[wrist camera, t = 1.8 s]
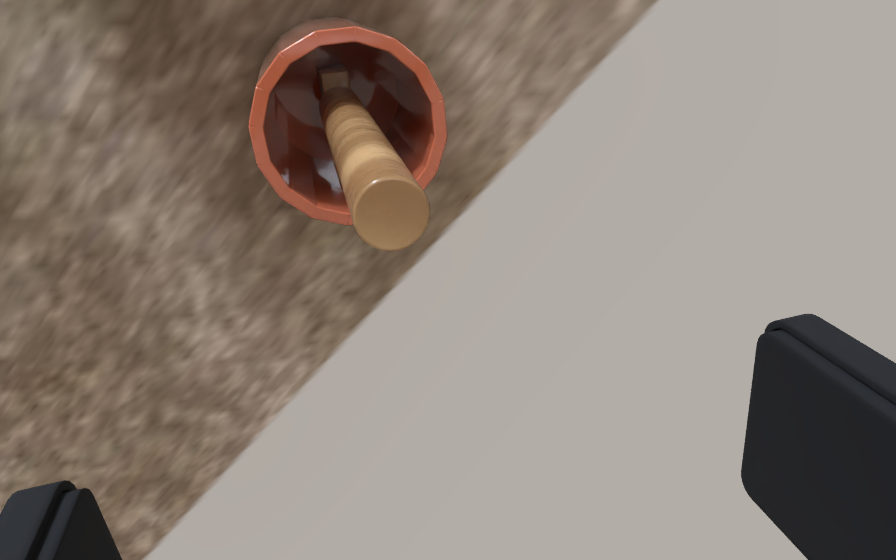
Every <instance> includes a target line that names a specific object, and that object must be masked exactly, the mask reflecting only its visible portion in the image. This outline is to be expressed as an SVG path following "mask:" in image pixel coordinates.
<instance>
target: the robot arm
mask: <svg viewBox="0 0 896 560" xmlns="http://www.w3.org/2000/svg"><path fill="white" fill-rule="evenodd" d="M741 477H742V482H743V485H744V488H745V490H746V491H747V493H748V495H749V496H750V497H751V499H752V500H753V501H754V502H755V503H756V504H757V505H758V506H759V507H760V508H761V509H762V510H763V512H764V513H765V514H766V515H767V516H768V517H769V518H770V519H771V520H772V521H773V522H774V524H775V525H776V526H777V527H778V528H779V529H780V530H781V531H782V532H783V533H784V534H785V535H786V536H787V537H788V539H789V540H791V542H792V543H793V544H794V545H795V546H796V547H797V548H798V549H799V550H800V551H801V553H802V554H803V555H804V556H805V557H806V558H807V559H808V560H896V363H894V362H893V361H891V360H889V359H888V358H886V357H884V356H883V355H881V354H879V353H878V352H876V351H874V350H873V349H871V348H869V347H868V346H866V345H864V344H863V343H861V342H860V341H858V340H856V339H854V338H853V337H851V336H850V335H848V334H846V333H845V332H843V331H841V330H840V329H838V328H836V327H835V326H833V325H831V324H829V323H828V322H826V321H825V320H823V319H821V318H820V317H818V316H816V315H813V314H803V315H799V316H794V317H790V318H785V319H781V320H777V321H773V322H771V323H769V325H768V326H767V327H766V329H765V333H764V334H762V335H761V336H760V337H759V339H758V342H757V347H756V356H755V364H754V372H753V380H752V388H751V397H750V404H749V413H748V420H747V429H746V437H745V445H744V453H743V461H742V469H741ZM0 560H122V558H121V556H120V554H119V552H118V549H117V547H116V545H115V543H114V540H113V538H112V536H111V534H110V531H109V529H108V527H107V525H106V522H105V520H104V518H103V516H102V513H101V511H100V509H99V507H98V504H97V502H96V500H95V498H94V496H93V494H92V492H91V491H90V490H89V489H87V488H83V489H78V490H77V489H76V487H75V485H74V484H72V483H71V482H70V481H65V480H64V481H60V482H56V483H51V484H47V485H42V486H38V487H33V488H29V489H24V490H20V491H17V492H15V493H13V494H12V495H11V497H10V498H9V499H8V501H7V503H6V505H5V506H4V508H3V510H2V512H1V514H0Z"/></svg>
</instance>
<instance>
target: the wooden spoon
mask: <svg viewBox="0 0 896 560" xmlns="http://www.w3.org/2000/svg"><path fill="white" fill-rule="evenodd" d="M317 71H318V77H319V83H320V89H321V94H322V97H321V99H320V102H319V112H320V116H321V119H322V122H323V125H324V129H325V132H326V135H327V139H328V142H329V145H330V149H331V152H332V155H333V159H334V162H335V165H336V168H337V172H338V175H339V178H340V182H341V185H342V188H343V192H344V195H345V198H346V202H347V205H348V208H349V211H350V215H351V218H352V221H353V225H354V227H355V230H356V232H357V234H358V235H359V236H360V238H361V239H362V240H363V241H364V242H365V243H367V244H368V245H370V246H372V247H374V248H376V249H379V250H384V251H395V250H400V249H403V248H406V247H408V246H410V245H412V244H413V243H415V242H416V241H417V240H418V239H419V238H420V237H421V236H422V235H423V233H424V232H425V230H426V228H427V226H428V223H429V219H430V205H429V201H428V198H427V196H426V194H425V193H424V191H423V190H422V188H421V187H420V185H419V184H418V182H417V181H416V180H415V178H414V177H413V175H412V174H411V172H410V171H409V170H408V168H407V167H406V165H405V164H404V162H403V161H402V160H401V158H400V157H399V155H398V154H397V152H396V151H395V149H394V148H393V147H392V145H391V144H390V142H389V141H388V139H387V138H386V137H385V135H384V134H383V132H382V131H381V129H380V128H379V127H378V125H377V124H376V122H375V121H374V119H373V118H372V117H371V115H370V114H369V112H368V111H367V109H366V108H365V107H364V105H363V104H362V102H361V101H360V99H359V98H358V97H357V95H356V94H355V93H354V92H353V91H352V90H351V86H350V80H349V73H348V71H347V69H346V68H345V67H344V66H343V64H342V63H338V64H330V65H322V66H318V67H317Z"/></svg>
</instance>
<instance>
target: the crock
mask: <svg viewBox="0 0 896 560" xmlns="http://www.w3.org/2000/svg"><path fill="white" fill-rule="evenodd" d="M338 63H342V64H343V66H344V67H345V68H346V69H347V71H348V73H349V80H350V86H351V90H352V91H353V92H354V93H355V94H356V95H357V97H358V98H359V99H360V101H361V102H362V104H363V105H364V107H365V108H366V109H367V111H368V112H369V114H370V115H371V117H372V118H373V119H374V121H375V122H376V124H377V125H378V127H379V128H380V129H381V131H382V132H383V134H384V135H385V137H386V138H387V139H388V141H389V142H390V144H391V145H392V147H393V148H394V149H395V151H396V152H397V154H398V155H399V157H400V158H401V160H402V161H403V162H404V164H405V165H406V167H407V168H408V170H409V171H410V172H411V174H412V175H413V177H414V178H415V180H416V181H417V182H418V184H419V185H420V187H421V188H422V190H424V189H425V188H426V186H427V185H428V184H429V183H430V181H431V180H432V179H433V177H434V176H435V175H436V173H437V171H438V168H439V165H440V162H441V158H442V155H443V151H444V148H445V145H446V141H447V125H446V114H445V104H444V100H443V96H442V94H441V92H440V90H439V88H438V86H437V84H436V82H435V81H434V79H433V77H432V75H431V73H430V71H429V69H428V67H427V65H425V63H424V62H423V61H422V60H420V59H419V58H418V57H417V56H416V55H415V54H413V53H412V52H411V51H410V50H409V49H407V48H406V47H405V46H404V45H403V44H402V43H400V42H399V41H398V40H397V39H395V38H393V37H391V36H389V35H386V34H384V33H382V32H380V31H377V30H375V29H373V28H371V27H368V26H366V25H363V24H360V23H356V22H353V21H350V20H347V19H343V18H340V17H328V18H317V19H312V20H307V21H304V22H302V23H300V24H298V25H297V26H295V27H293V28H291V29H290V30H288V31H287V32H286V33H284V34H282V35H281V36H280V37H279V38H278V39H277V41H276V42H275V44H274V45H273V46H272V47H271V49H270V51H269V52H268V54H267V55H266V57H265V58H264V60H263V62H262V65H261V68H260V72H259V76H258V80H257V83H256V87H255V92H254V97H253V103H252V108H251V113H250V119H249V124H248V125H249V132H250V137H251V141H252V145H253V150H254V154H255V159H256V163H257V165H258V167H259V169H260V170H261V172H262V173H263V175H264V176H265V177H266V179H267V180H268V182H269V183H270V185H271V186H272V187H273V189H274V190H275V192H276V193H277V194H278V196H279V197H280V198H281V199H283V200H284V201H286V202H287V203H289V204H290V205H292V206H294V207H295V208H297V209H298V210H300V211H301V212H303V213H304V214H306V215H307V216H309V217H311V218H313V219H318V220H322V221H327V222H332V223H337V224H342V225H349V226H350V225H353V221H352V218H351V215H350V211H349V208H348V205H347V202H346V198H345V195H344V192H343V188H342V185H341V182H340V178H339V175H338V172H337V168H336V165H335V162H334V159H333V155H332V152H331V149H330V145H329V142H328V139H327V135H326V132H325V129H324V125H323V122H322V119H321V116H320V112H319V102H320V99H321V97H322V94H321V89H320V83H319V77H318V71H317V67H318V66H322V65H330V64H338Z"/></svg>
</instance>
